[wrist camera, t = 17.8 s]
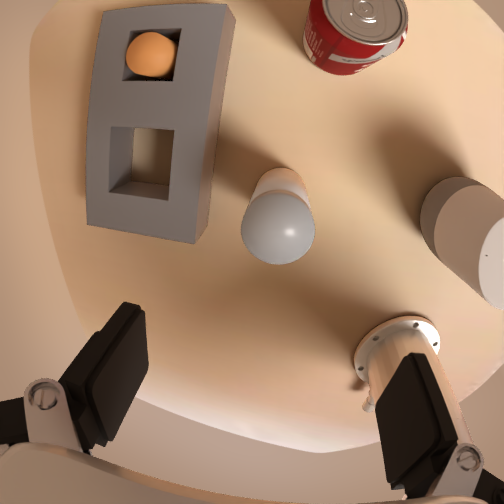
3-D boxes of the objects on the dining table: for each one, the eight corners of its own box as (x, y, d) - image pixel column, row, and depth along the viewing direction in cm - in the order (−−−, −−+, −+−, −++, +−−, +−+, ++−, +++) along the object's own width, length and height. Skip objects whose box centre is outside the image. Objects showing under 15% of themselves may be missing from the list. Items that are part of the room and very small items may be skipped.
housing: (207, 225, 33) (194, 244, 29) (109, 209, 34) (87, 224, 29) (236, 20, 24) (226, 4, 19) (126, 22, 24) (103, 11, 20)
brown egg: (183, 80, 26) (164, 74, 22) (146, 79, 26) (123, 75, 22) (189, 42, 25) (172, 31, 20) (152, 43, 25) (130, 33, 20)
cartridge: (300, 219, 32) (306, 270, 22) (252, 211, 32) (236, 257, 22) (310, 172, 30) (322, 203, 20) (260, 163, 30) (246, 189, 20)
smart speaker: (488, 185, 28) (567, 229, 15) (464, 256, 31) (525, 323, 19) (425, 160, 28) (504, 196, 15) (401, 240, 32) (456, 314, 19)
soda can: (297, 67, 26) (305, 38, 15) (307, 8, 23) (318, -46, 12) (365, 84, 25) (411, 68, 15) (374, 25, 23) (419, -16, 12)
